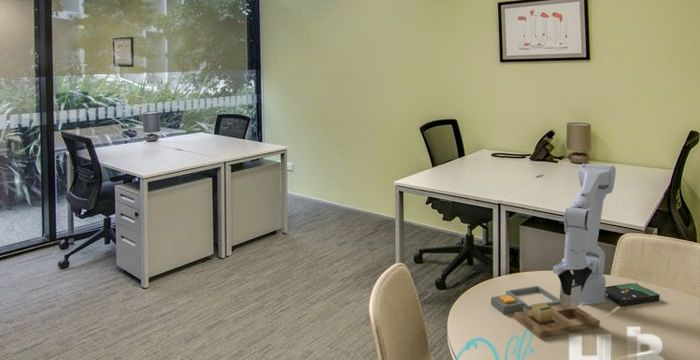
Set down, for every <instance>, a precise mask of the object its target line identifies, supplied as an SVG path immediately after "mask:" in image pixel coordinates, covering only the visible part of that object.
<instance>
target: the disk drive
mask: <svg viewBox="0 0 700 360" xmlns="http://www.w3.org/2000/svg"><path fill="white" fill-rule="evenodd" d="M604 298H607V299H609V300H610V301H612V302H614V303H615V304H617V305H618V307H620V308H623V307H629V306H635V305H642V304H648V303H656V302H657V303H658V302H659V301H660V298H661V295H660V294H659V293H657V292H655V291H654V290H652V289H649V288H646V287H644V286H642V285H640V284H639V283H637V282H636V283H624V284H617V285H609V286H605V297H604Z"/></svg>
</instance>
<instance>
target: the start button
mask: <svg viewBox="0 0 700 360" xmlns="http://www.w3.org/2000/svg"><path fill="white" fill-rule="evenodd" d="M505 295H506V294H505ZM499 296H500V297H499V300H500V301H502V302H503V303H504V304H509V303H515V302H516V300H515V299H514V298H512V297H511V296H510V295H506V296H502V295H499Z"/></svg>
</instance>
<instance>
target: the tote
mask: <svg viewBox="0 0 700 360" xmlns="http://www.w3.org/2000/svg"><path fill="white" fill-rule="evenodd" d="M531 293H540V294H542V295H543V296H544V297H546V298H547V299H549V300H550V301H548V302H544V303H545V304H547V305H548V306H556V305H562V303H560V298H558V297H557V296H556V295H553V294H552V293H551V292H549V291H547V290H546V289H544V288H543V287H541V286H539V285H534V286H527V287H520V288H515V289H508V290H505V295H508V294H511V295H513V296H514V297H515V298H517V299H518V300H520V301H521V302H522V303H524V306H523V309H525V311H527V310H532V305H533V304H530V305H529V304H528V303H526V302H525V301H523V300H522V299H520V298H519V297H518V295H524V294H531Z"/></svg>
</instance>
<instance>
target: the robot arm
mask: <svg viewBox="0 0 700 360" xmlns="http://www.w3.org/2000/svg"><path fill="white" fill-rule="evenodd" d="M615 180H616V167H615V166H614V165H606V164H605V165H603V164H602V165H601V164H593V163H591V164H590V163H585V162H583V163H581V165H580V166H579V170H578V181H579V184H580V187H581V188H580V189H581V190H580V191H578V192H576V193H575V195H574V198H573V200H572V203H571V205H570V207H569V208H566V209H565V212H564V216H563V224H564V225H563V226H564V233H565V239H564V240H565V242H564V253H563V254H564V256H563V258H561V262H559V263H557V264H556V265H554V266H552V273H553V274H556V275H557V277H558V279H559V281H560V283H561V285H562V290H563V293H564V294H566V295H570V294H571V289H572V284H573V282H574V283H577V284H579V285H581V302H580V306H587V305H595V304H599V303H605V302H607V300H606V299H605V298H606V297H605V287H607V286H606V285H607V282H606V277H605V276H604V274H603V273H604V269H605V264H606V263H605V262H606V260H605V258H606V254H605V251H604V250H603V249H602V248H601V247H600V246H599V245H598V239H599V233H600V232H599V231H600V228H601V227H600V226H601V220H602V213H603V208H604V207H603V206H604V201H605V199H606V196H607V195H609V194H611V193H613V190H614V187H615V186H614V185H615Z"/></svg>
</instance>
